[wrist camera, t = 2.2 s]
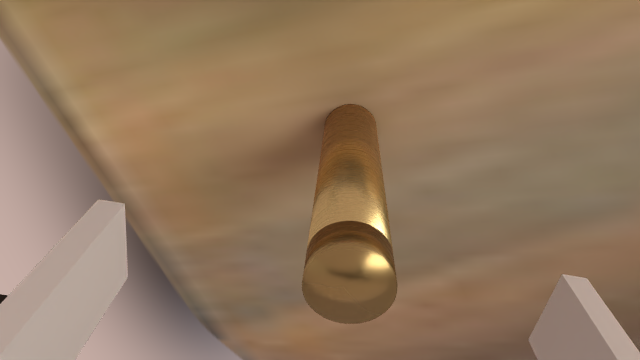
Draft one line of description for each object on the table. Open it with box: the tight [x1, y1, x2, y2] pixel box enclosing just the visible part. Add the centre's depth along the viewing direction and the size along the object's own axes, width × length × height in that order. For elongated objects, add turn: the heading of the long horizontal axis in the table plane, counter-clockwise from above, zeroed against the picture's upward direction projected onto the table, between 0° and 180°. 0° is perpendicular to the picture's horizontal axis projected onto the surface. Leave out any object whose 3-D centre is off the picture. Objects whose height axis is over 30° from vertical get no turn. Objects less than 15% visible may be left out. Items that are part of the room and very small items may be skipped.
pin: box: [302, 104, 397, 324], centre depth 19 cm, size 3×3×13 cm
